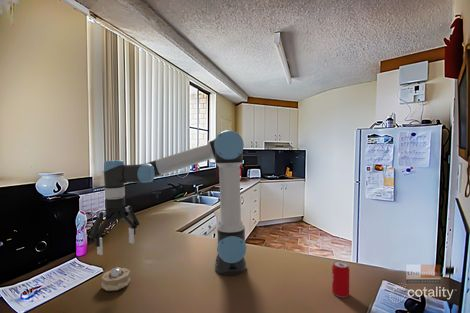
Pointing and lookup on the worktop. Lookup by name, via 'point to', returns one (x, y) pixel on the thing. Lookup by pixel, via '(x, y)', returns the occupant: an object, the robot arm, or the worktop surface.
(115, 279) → the ring
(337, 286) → the beverage can
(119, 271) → the post
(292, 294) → the worktop surface
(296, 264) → the worktop surface
